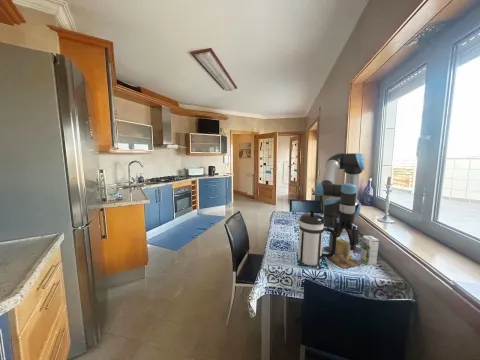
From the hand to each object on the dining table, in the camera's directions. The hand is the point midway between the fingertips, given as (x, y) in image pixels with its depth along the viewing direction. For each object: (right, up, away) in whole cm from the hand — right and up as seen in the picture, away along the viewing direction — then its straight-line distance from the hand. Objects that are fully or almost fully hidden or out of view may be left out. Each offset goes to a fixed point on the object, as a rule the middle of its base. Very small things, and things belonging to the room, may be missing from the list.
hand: (343, 251), depth 114 cm
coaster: (0, -6, +1) cm, 6 cm away
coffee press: (-18, -6, -1) cm, 19 cm away
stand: (+7, -4, +15) cm, 17 cm away
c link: (0, -2, 0) cm, 2 cm away
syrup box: (+14, -6, 0) cm, 15 cm away
